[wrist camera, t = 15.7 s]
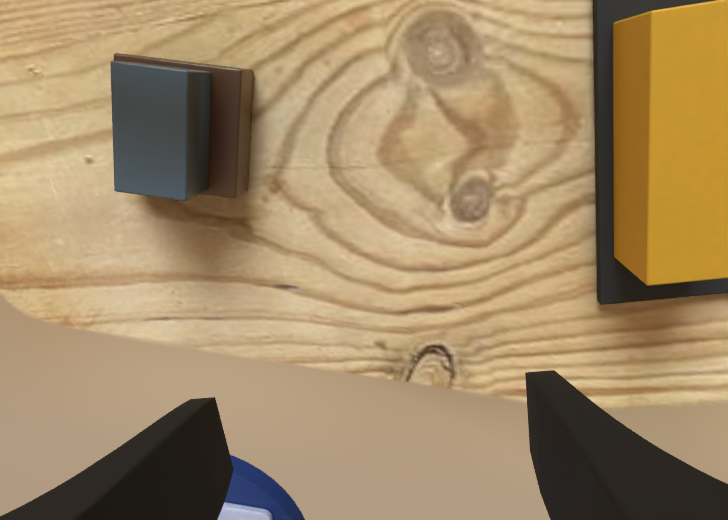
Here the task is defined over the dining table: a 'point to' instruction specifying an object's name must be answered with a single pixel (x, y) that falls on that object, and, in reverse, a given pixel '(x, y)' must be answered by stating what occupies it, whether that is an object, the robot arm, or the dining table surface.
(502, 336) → the dining table surface
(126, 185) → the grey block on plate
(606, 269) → the mat
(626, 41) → the bar
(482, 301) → the dining table surface
